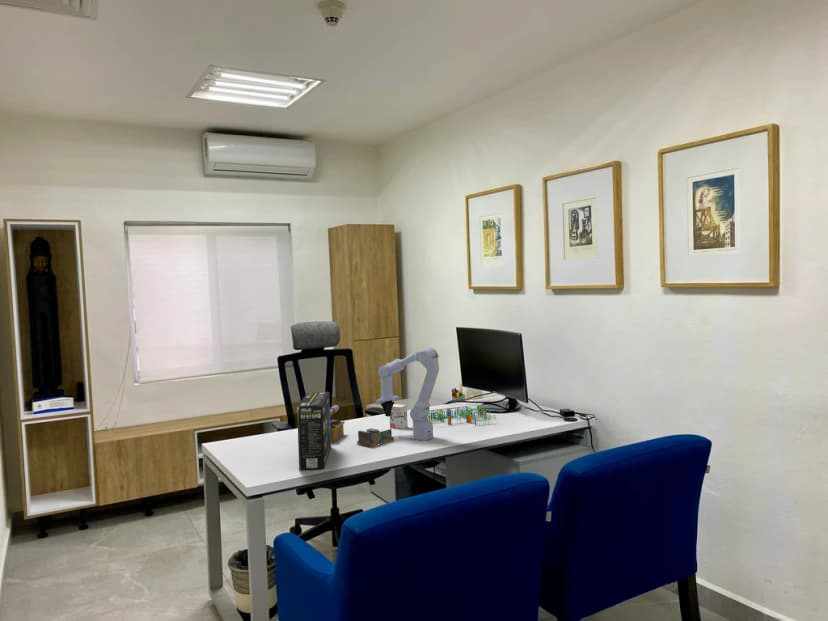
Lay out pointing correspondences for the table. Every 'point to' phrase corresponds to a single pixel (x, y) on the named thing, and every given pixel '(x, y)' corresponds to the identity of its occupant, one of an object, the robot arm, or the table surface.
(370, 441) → the stone ruin model
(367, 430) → the gauge slider
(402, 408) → the ink box
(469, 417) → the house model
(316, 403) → the router box
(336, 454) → the table surface
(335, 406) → the geiger counter
